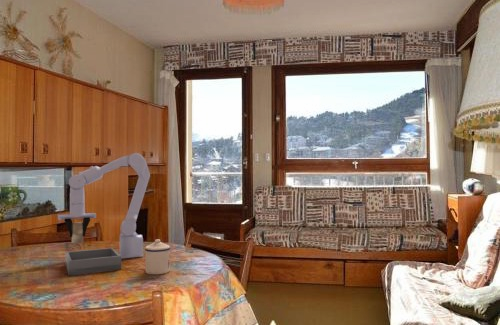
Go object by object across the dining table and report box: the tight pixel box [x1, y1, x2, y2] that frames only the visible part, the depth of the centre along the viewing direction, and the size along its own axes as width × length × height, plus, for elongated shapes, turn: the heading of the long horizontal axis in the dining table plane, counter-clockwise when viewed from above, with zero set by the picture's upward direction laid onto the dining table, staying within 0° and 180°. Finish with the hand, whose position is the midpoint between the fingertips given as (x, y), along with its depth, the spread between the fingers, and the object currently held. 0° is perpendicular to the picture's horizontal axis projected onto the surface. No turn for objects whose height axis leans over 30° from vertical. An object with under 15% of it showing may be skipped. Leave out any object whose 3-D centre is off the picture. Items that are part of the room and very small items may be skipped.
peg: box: [71, 221, 84, 244], centre depth 174 cm, size 4×4×8 cm
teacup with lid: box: [144, 238, 171, 275], centre depth 154 cm, size 12×9×12 cm
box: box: [64, 247, 122, 276], centre depth 160 cm, size 18×18×5 cm
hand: (77, 236), depth 174 cm, fingers closed on peg, 4 cm apart
